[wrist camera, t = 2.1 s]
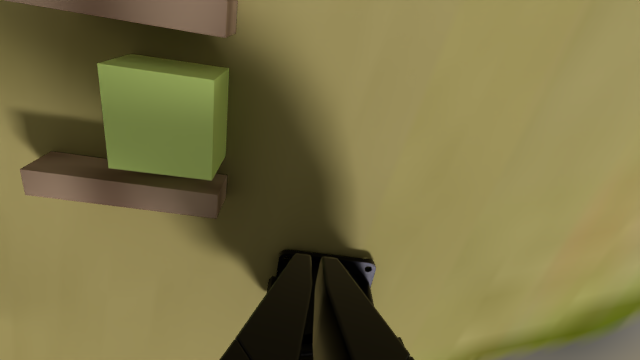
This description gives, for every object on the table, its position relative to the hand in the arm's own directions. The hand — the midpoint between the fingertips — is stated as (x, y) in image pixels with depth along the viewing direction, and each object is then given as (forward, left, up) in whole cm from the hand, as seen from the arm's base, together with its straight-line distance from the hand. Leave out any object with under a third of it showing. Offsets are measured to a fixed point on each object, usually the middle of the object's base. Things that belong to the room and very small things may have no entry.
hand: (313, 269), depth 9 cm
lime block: (+7, 0, -13) cm, 15 cm away
